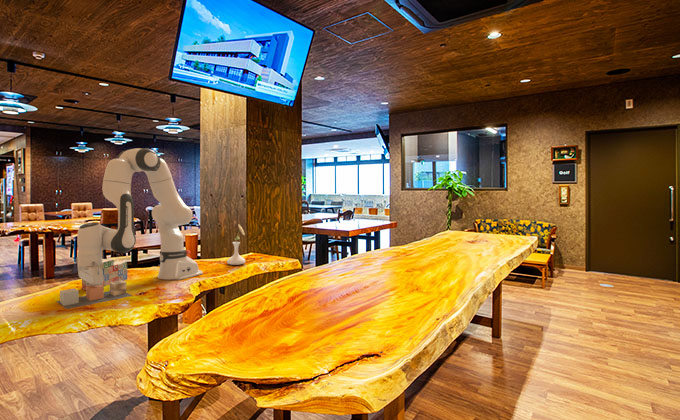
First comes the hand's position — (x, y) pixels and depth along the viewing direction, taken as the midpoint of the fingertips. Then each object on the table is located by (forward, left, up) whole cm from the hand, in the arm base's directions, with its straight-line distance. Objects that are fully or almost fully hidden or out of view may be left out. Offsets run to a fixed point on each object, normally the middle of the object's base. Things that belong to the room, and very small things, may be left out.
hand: (90, 291), depth 158 cm
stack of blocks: (-11, -17, -2) cm, 20 cm away
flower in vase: (-82, -11, -2) cm, 83 cm away
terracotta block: (0, +5, -2) cm, 5 cm away
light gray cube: (+9, +4, -2) cm, 10 cm away
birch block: (-9, +4, -2) cm, 10 cm away
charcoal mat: (0, +5, -2) cm, 6 cm away
